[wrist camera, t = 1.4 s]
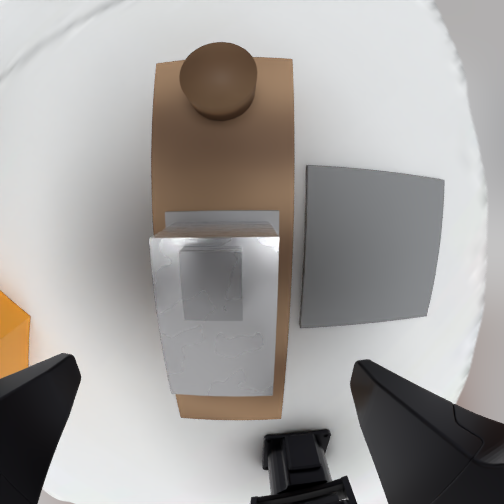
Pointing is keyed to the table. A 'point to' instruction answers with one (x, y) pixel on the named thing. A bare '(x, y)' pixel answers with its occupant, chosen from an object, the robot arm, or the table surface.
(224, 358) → the lever cap
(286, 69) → the hand plane
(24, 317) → the orange juice
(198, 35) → the table surface
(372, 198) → the rubber mat
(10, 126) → the table surface
